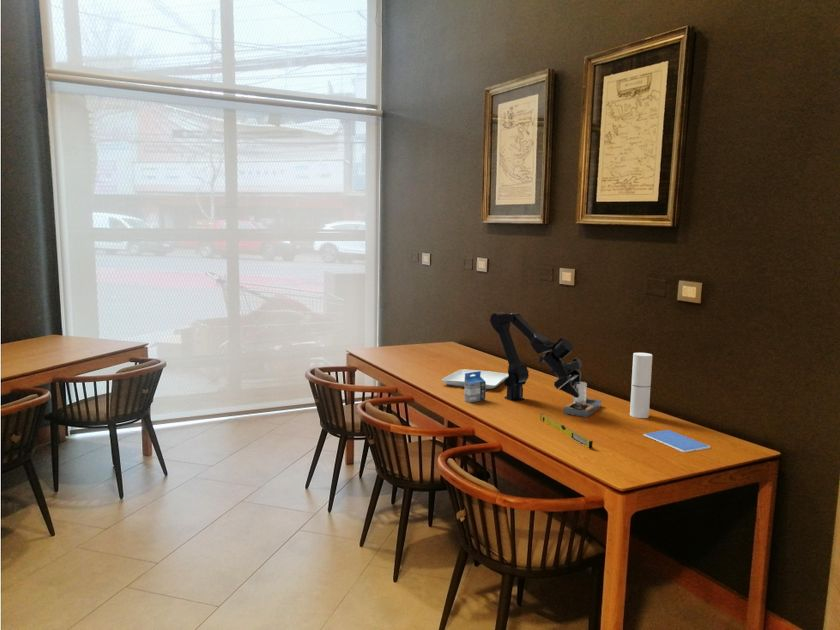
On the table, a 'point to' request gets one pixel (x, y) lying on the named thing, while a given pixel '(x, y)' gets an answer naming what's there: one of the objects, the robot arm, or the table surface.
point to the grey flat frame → (590, 408)
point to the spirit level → (567, 431)
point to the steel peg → (580, 395)
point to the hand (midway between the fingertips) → (581, 394)
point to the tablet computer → (677, 441)
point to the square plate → (488, 376)
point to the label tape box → (474, 387)
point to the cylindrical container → (641, 385)
